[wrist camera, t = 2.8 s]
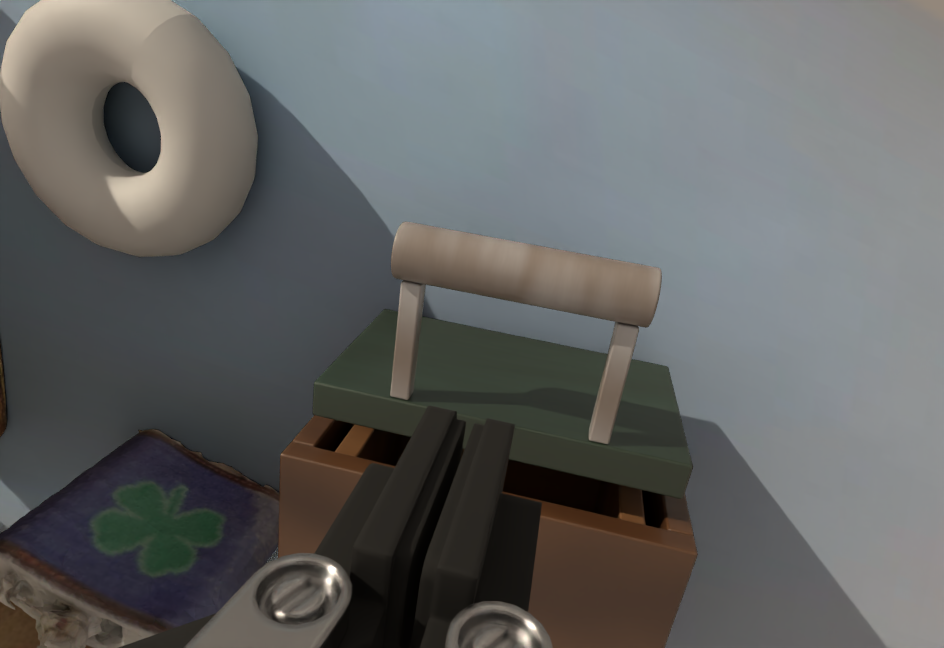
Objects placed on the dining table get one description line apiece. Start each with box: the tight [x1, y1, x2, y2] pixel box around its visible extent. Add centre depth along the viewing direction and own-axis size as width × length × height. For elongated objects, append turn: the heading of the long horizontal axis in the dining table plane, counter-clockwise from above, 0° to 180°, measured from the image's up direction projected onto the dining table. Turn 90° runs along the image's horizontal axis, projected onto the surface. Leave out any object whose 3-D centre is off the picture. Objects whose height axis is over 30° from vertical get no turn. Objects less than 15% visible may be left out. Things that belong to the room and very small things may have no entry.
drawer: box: [313, 222, 693, 525], centre depth 22 cm, size 19×11×7 cm, turn 172°
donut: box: [0, 0, 258, 257], centre depth 23 cm, size 10×4×10 cm
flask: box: [0, 429, 279, 648], centre depth 26 cm, size 9×3×11 cm, turn 65°
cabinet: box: [278, 415, 698, 648], centre depth 25 cm, size 15×13×9 cm
